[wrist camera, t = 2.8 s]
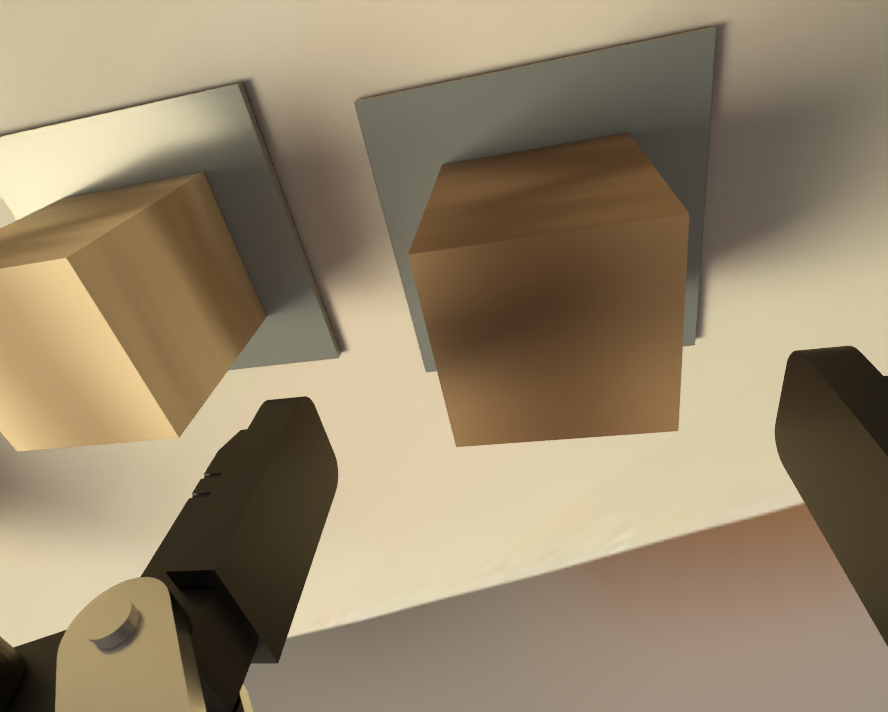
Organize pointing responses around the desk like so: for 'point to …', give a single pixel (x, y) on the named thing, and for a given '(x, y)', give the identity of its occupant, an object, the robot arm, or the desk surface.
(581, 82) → the code tile
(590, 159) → the walnut block
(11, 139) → the code tile
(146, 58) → the desk surface
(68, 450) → the desk surface
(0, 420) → the maple block
